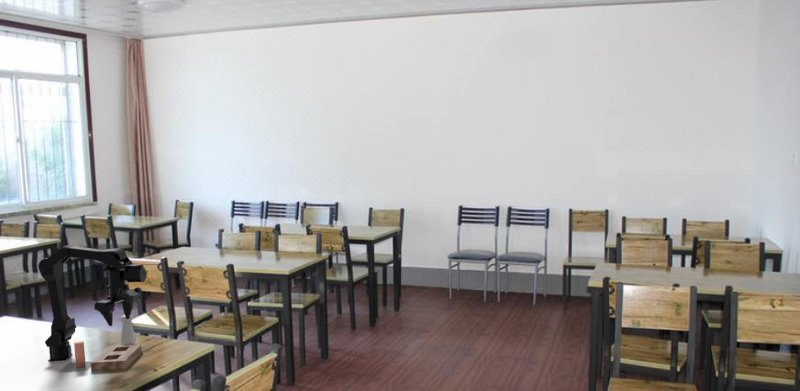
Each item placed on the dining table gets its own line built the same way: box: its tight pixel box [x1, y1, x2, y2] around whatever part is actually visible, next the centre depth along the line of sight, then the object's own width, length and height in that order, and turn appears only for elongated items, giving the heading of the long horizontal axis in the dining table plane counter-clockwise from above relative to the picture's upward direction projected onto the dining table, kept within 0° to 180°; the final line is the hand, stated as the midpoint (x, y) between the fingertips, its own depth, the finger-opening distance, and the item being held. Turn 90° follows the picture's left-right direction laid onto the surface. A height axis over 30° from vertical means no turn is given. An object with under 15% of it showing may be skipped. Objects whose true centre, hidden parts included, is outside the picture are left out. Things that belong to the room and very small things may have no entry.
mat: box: [57, 360, 93, 373], centre depth 227 cm, size 10×10×1 cm
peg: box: [73, 340, 87, 368], centre depth 226 cm, size 3×3×9 cm
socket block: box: [90, 343, 143, 372], centre depth 231 cm, size 12×18×4 cm, turn 5°
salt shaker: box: [119, 314, 137, 345], centre depth 248 cm, size 6×6×13 cm
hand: (119, 322), depth 235 cm, fingers open, 9 cm apart
